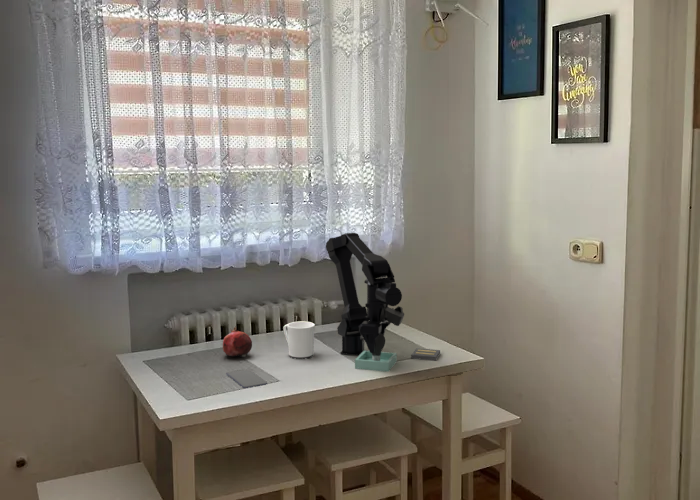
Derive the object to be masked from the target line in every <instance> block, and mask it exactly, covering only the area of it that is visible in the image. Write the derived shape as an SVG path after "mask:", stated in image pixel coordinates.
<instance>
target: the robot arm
mask: <svg viewBox="0 0 700 500" xmlns="http://www.w3.org/2000/svg"><path fill="white" fill-rule="evenodd" d="M325 249H326V252H327V254H328V258H329V259H330V260H331V262H333V263H334V265H335V268H336V272H337V277H338V281H339V286H340V292H341V296H342V302H343V306H344V307H343V309H342V312H341V316H340V317H341V321H340V323H339V324H338V326H337V334H338V336H339V335H340V336H341V342H342V343H341V349H342V350H341V351H340V355H351V356H359V355H360V354H361V353H362V352H363V351H364V350H365V344H366V347H367V348H368V351H370V353H374V351H375V345H376V339H377V336H378V335H379V334H380V333H382V334H383V335H384V336H385V333H386V329H387V328H388V327H389V326H390V325H391V324H393V325H394V326H396V327H399V326H400V325H401V324H402V322H403V319H404V317H405V312H404V311H403V307H402V306H399V304H400V303H401V301H402V298H403V294H402V291H401V290H400V289H399V287H397V283H396V280H395V274H394V273H393V271H392V268H391V265H390V263H389V261H388V260H387V258H385V257H383V256H381V255H379V254H375V253H374V252H373V251H372V250H371V249H370V248H369V247H368V246H367V244H366V243H365V242H364V241H363V240H362V239H361V238H360V235H359V233H356V232H346V233H343V234H341V235H339V236H336V237H330V238H329V239H328V241H327V242H326V243H325ZM352 256H354V257H355V258H356V259H357V260H358V262H359V263H360V264H361V271H362V273H363V275H364V276H365V278H366V279H365V280H364V281H363V282H364V284H366V291H367V292H366V303H365V304H364V305H365V306H362V304H360V301H359V297H358V294H357V293H358V292H357V288H356V284H355V278H354V274H353V270H352V269H353V268H352V265H351V259H352ZM396 306H397V307H396ZM393 307H395V308H393Z"/></svg>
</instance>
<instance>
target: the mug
mask: <svg viewBox="0 0 700 500" xmlns="http://www.w3.org/2000/svg"><path fill="white" fill-rule="evenodd" d="M315 326H316V324H315V323H313V322H311V321H303V320H302V321H300V320H299V321H293V322H289V323H287V324H285V325H284V326H283V328H282V329H283V334H284V337H285V339H286V342H287V345H288V356H289V358H291V357H292V358H291V359H294V358H296V359H295V360H305V358H307V359H311V358H313V357H314V354H315V353H314V351H315V350H314V349H315V346H314V345H315V342H314V341H315V328H316V327H315ZM310 357H311V358H310Z"/></svg>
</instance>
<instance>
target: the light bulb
mask: <svg viewBox="0 0 700 500" xmlns="http://www.w3.org/2000/svg"><path fill="white" fill-rule="evenodd" d="M385 345H386V337H385V334H384V335H383V334H382V333H380V334H379V335H378V336H377V339H376V345H375V351H374V353H372V359H373V361H380V355H381V352H383V348H384V347H385Z"/></svg>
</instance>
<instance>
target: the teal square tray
mask: <svg viewBox="0 0 700 500" xmlns="http://www.w3.org/2000/svg"><path fill="white" fill-rule="evenodd" d="M397 354H398V352H389V351H387V352H386V351H381V355H380V361H373V359H372V353H370V351H369V350H365V349H364V351H363V352H362V353H361V354H360V355H357V357H356V358H354V369H357V370H365V371H366V370H368V371H378V372H387V373H389V372H390V370H391V369H392V368H393V367H394V366H395V365H396V363H397V362H398V361H397V359H398V358H397Z"/></svg>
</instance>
